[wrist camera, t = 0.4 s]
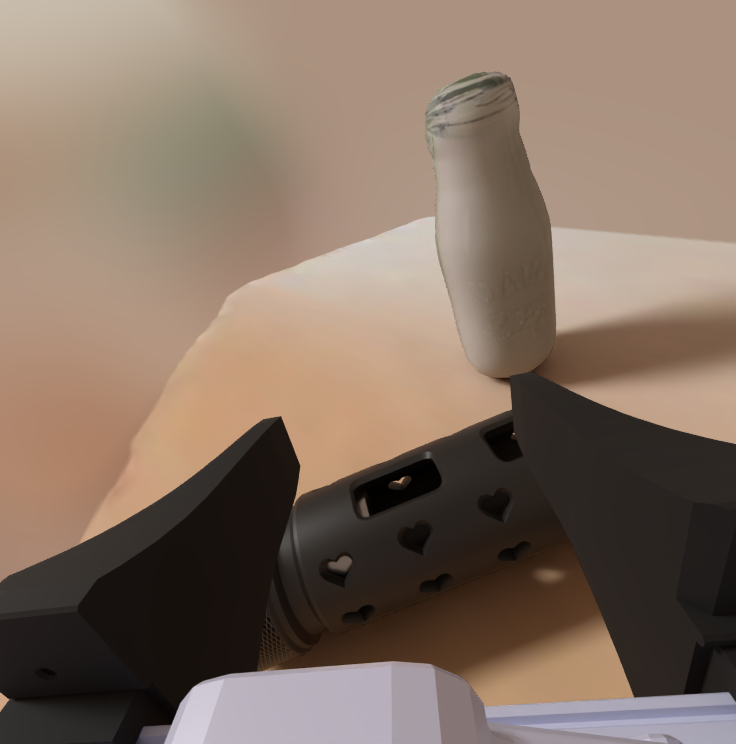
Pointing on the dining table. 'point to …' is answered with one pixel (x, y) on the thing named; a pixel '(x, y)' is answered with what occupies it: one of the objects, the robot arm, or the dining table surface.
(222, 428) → the dining table surface
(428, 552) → the muzzle brake
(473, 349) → the grey bottle
